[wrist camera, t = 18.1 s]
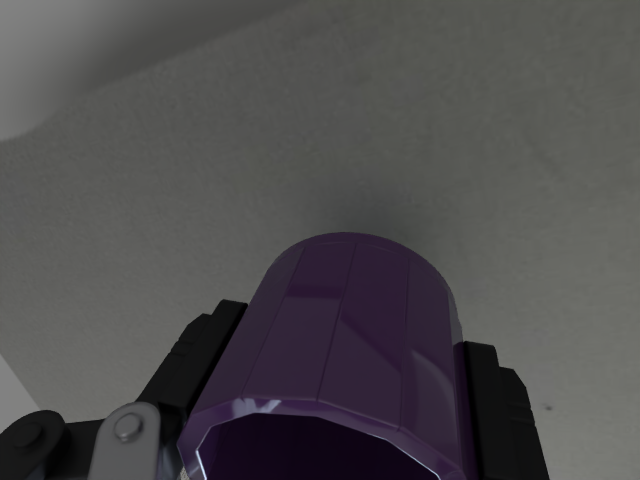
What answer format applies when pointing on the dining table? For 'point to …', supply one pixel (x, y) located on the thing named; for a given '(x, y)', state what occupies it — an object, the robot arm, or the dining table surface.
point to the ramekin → (339, 373)
